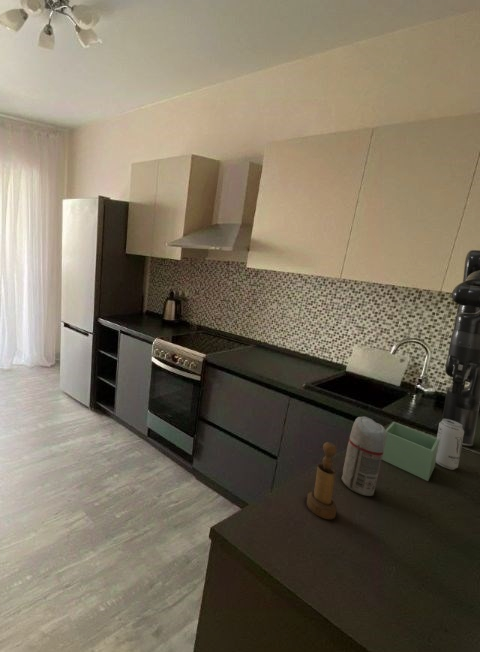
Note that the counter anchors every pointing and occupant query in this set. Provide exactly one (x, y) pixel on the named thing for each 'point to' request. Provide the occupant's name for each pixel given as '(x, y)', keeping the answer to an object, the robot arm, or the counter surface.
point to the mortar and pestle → (324, 486)
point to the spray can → (364, 456)
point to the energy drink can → (449, 443)
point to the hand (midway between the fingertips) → (457, 391)
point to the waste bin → (410, 450)
